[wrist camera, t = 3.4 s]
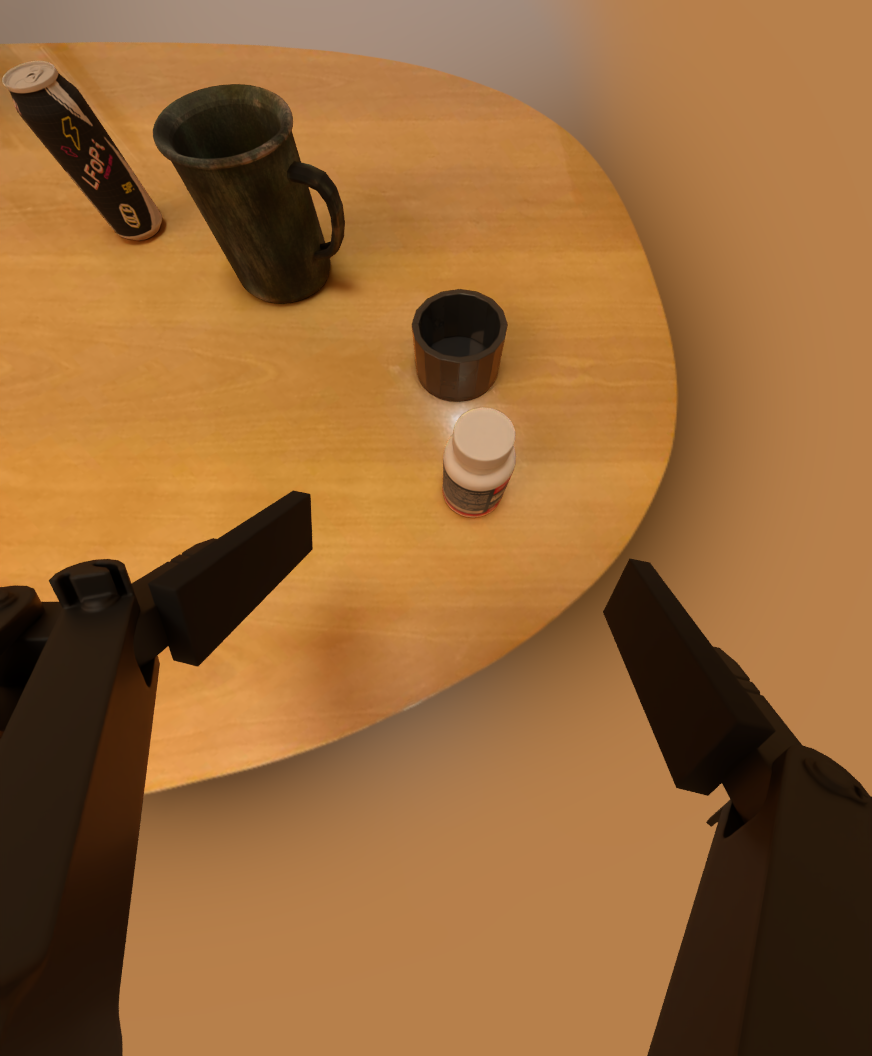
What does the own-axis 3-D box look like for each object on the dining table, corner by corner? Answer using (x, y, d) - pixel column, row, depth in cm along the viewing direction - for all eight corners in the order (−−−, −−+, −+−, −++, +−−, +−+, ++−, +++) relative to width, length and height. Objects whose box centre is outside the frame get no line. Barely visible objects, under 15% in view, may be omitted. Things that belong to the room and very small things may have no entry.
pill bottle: (493, 526, 29) (514, 481, 20) (435, 509, 29) (432, 458, 21) (508, 472, 30) (533, 410, 22) (452, 457, 31) (456, 390, 22)
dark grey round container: (503, 342, 35) (513, 296, 30) (490, 408, 32) (498, 369, 27) (426, 330, 35) (424, 283, 30) (408, 393, 33) (402, 353, 28)
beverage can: (175, 217, 42) (73, 59, 30) (152, 248, 40) (36, 94, 28) (134, 210, 42) (19, 53, 31) (110, 241, 40) (-21, 86, 29)
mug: (265, 233, 40) (194, 74, 29) (377, 257, 39) (350, 99, 27) (221, 297, 37) (123, 148, 26) (341, 326, 36) (293, 181, 24)
